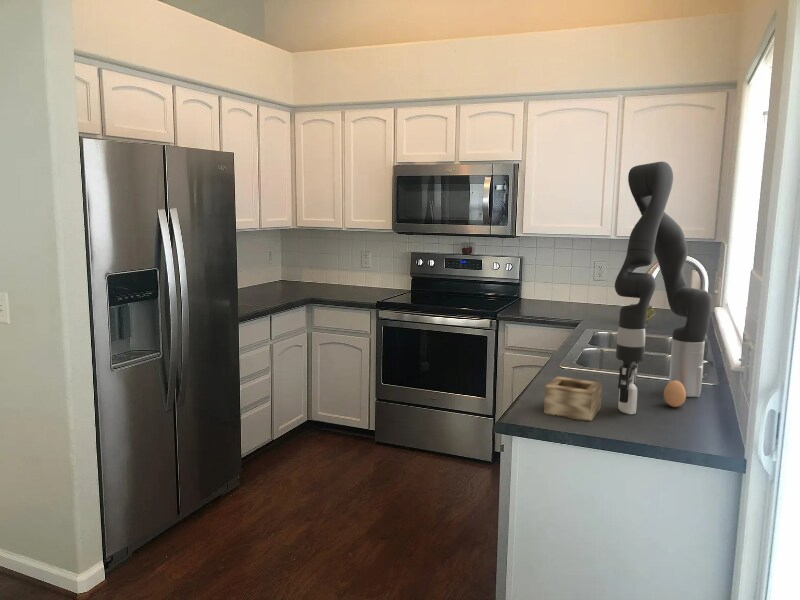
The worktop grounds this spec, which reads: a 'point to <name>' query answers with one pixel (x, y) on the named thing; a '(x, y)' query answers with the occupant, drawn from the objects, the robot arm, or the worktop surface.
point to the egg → (674, 393)
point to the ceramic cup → (648, 313)
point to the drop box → (573, 398)
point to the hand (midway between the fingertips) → (626, 398)
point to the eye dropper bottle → (629, 400)
